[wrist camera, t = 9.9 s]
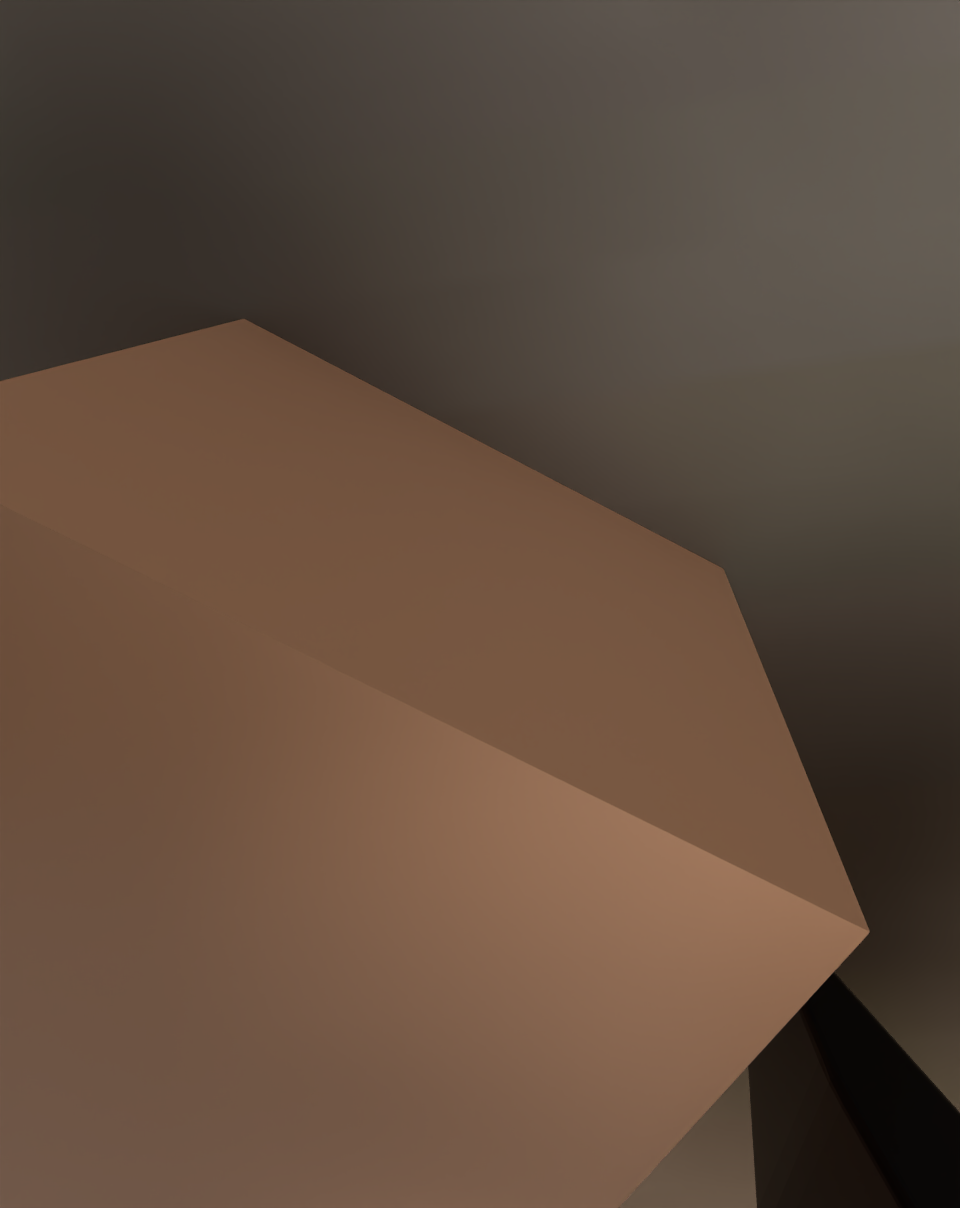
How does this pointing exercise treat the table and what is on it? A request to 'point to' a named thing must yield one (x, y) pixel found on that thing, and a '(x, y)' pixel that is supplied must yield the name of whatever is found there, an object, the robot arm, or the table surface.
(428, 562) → the terracotta brick
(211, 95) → the table surface
